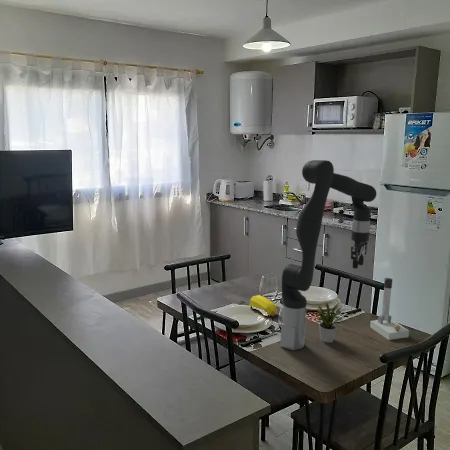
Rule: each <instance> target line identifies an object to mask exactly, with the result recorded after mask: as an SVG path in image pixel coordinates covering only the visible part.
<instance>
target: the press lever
mask: <svg viewBox="0 0 450 450" xmlns="http://www.w3.org/2000/svg"><path fill="white" fill-rule="evenodd" d="M392 289H393V278H390V277H385V278H384V282H383V298H382V299H383V300H382V308H381V316H382V317H383V321H384V320H388V317H389V315H390V306H391V305H390V304H391V296H392V295H391V293H392Z"/></svg>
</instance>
